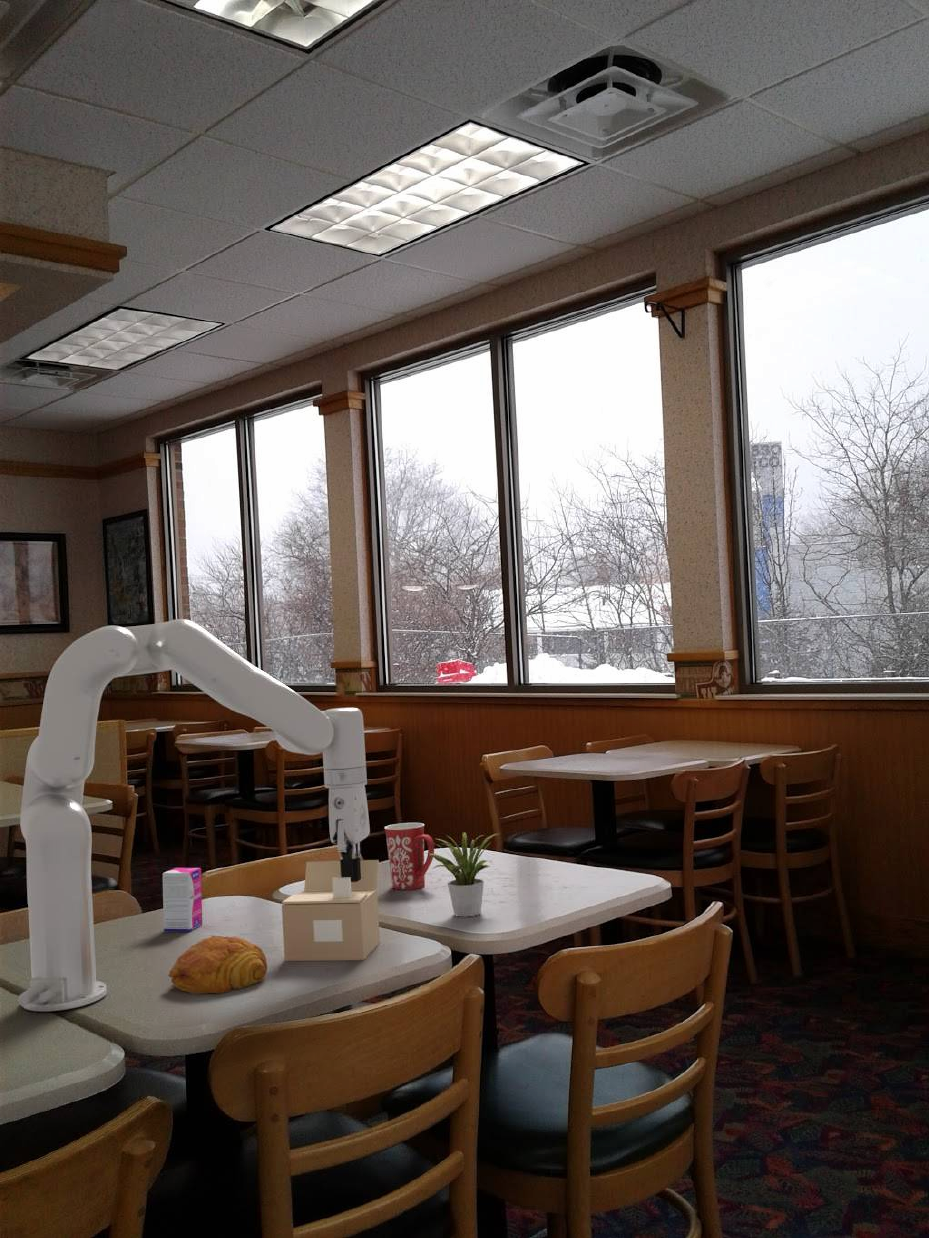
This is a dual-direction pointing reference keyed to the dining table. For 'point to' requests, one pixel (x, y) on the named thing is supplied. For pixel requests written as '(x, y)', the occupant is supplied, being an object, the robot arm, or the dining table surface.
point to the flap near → (339, 894)
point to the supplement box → (182, 899)
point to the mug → (408, 854)
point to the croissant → (219, 966)
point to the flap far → (339, 875)
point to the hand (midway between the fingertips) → (351, 880)
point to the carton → (331, 928)
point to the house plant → (465, 877)
